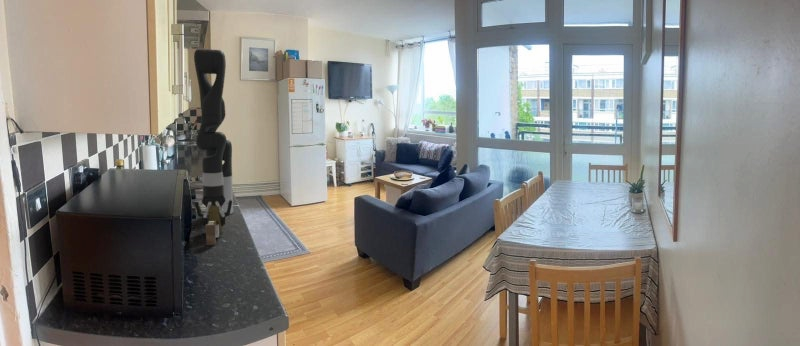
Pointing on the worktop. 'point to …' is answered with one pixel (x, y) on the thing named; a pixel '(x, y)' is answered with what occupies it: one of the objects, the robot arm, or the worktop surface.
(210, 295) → the worktop surface
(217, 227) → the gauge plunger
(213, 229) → the beige upright block
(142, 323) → the worktop surface
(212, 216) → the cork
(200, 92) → the robot arm
